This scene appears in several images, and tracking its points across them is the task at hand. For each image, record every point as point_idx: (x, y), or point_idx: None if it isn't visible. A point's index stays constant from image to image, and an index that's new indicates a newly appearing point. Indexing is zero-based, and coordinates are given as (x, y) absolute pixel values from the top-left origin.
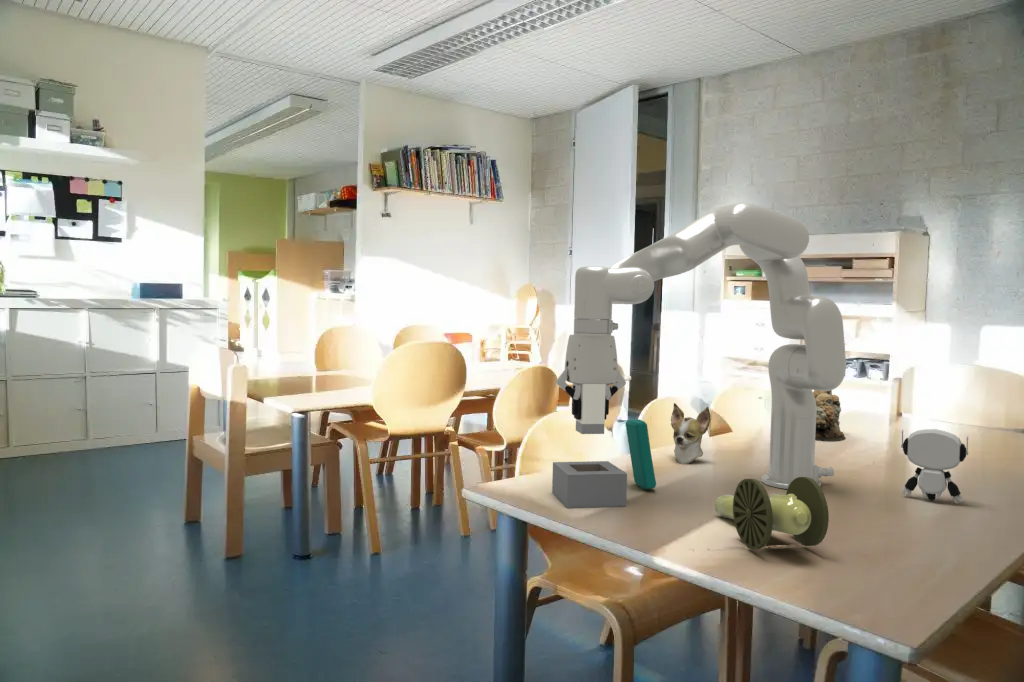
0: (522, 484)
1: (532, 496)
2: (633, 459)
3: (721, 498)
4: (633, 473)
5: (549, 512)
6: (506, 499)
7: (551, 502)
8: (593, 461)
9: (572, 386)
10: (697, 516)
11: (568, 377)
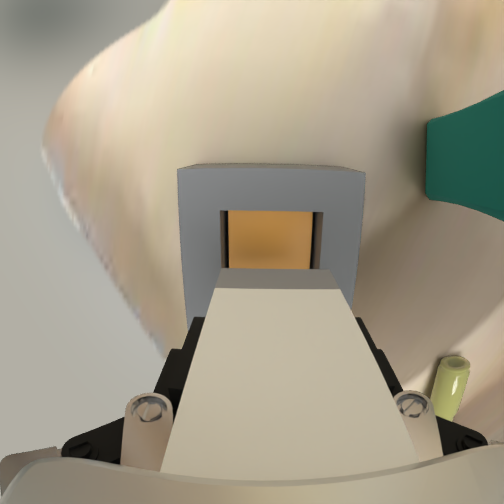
0: (146, 76)
1: (145, 192)
2: (450, 136)
3: (448, 384)
4: (434, 123)
5: (163, 316)
6: (92, 214)
7: (178, 248)
8: (317, 171)
9: (121, 464)
10: (413, 358)
11: (44, 481)
